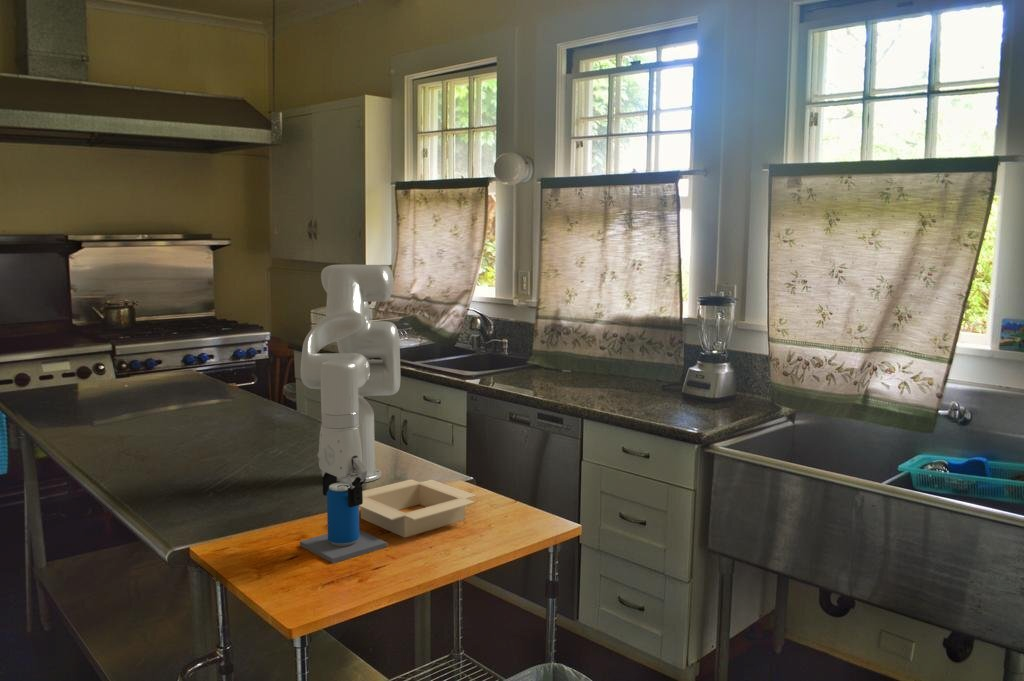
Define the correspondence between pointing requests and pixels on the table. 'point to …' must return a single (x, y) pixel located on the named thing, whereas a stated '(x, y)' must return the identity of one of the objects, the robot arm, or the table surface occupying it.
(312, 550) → the mat
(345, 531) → the beverage can
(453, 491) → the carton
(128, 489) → the table surface
